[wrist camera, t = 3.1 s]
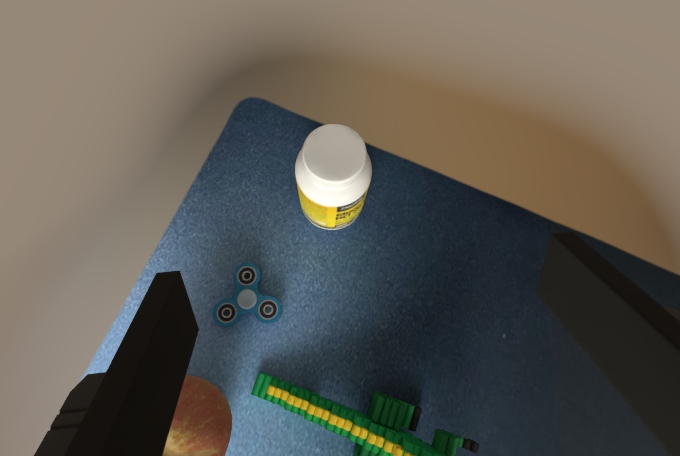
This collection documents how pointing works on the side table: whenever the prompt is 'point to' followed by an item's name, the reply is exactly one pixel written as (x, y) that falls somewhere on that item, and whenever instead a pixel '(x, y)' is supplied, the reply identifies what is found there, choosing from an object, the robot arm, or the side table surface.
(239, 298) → the toy
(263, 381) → the green brick dinosaur
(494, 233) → the side table surface
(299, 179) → the pill bottle
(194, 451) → the apple
